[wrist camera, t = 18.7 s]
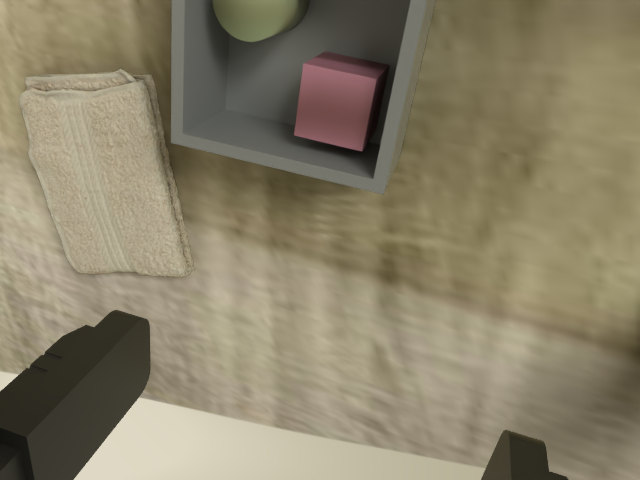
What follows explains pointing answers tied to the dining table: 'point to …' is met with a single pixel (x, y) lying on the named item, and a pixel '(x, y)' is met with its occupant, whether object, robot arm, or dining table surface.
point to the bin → (293, 85)
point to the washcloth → (106, 172)
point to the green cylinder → (259, 17)
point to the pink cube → (340, 100)
